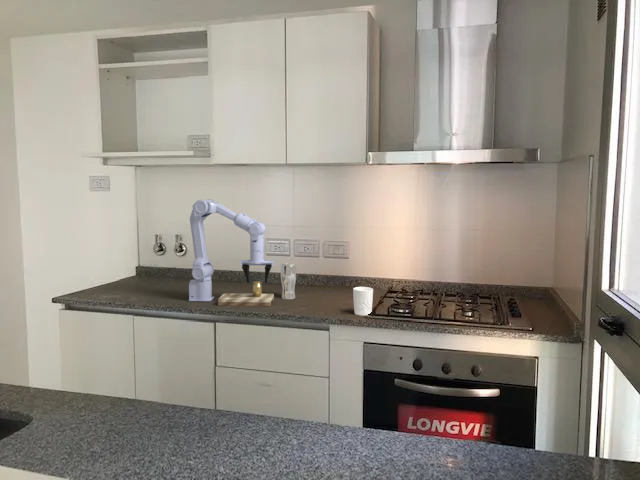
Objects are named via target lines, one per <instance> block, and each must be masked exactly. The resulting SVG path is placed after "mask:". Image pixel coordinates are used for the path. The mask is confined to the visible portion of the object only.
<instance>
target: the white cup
mask: <svg viewBox="0 0 640 480" xmlns="http://www.w3.org/2000/svg"><path fill="white" fill-rule="evenodd" d="M352 291H353V292H352V295H353V296H352V297H353V298H352V299H353V311H354V312H353V313H354V315H356V316H365V317H366V316H369V315H368V314H370V313H371V312H372V311H373V299H374V296H373V295H374V288H372V287H368V286H356V287H353V289H352ZM372 313H373V312H372Z"/></svg>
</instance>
